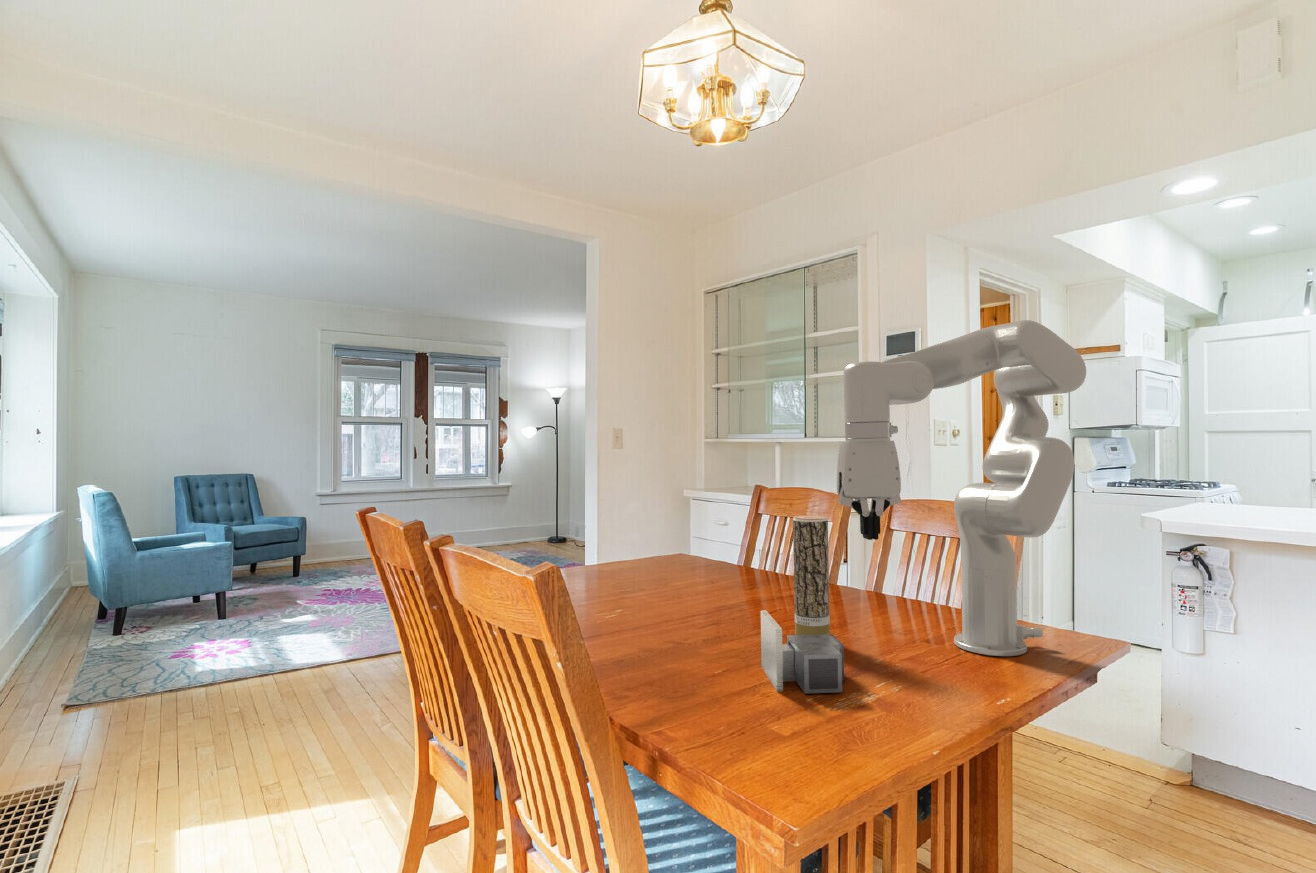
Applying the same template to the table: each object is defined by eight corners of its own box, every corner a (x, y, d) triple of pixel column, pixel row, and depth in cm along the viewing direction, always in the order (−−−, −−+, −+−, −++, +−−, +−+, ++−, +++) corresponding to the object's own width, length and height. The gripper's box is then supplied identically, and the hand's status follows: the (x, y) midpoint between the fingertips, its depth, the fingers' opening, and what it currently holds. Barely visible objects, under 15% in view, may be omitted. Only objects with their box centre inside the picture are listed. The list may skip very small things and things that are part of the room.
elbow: (832, 668, 115) (832, 634, 115) (855, 692, 104) (854, 654, 104) (787, 669, 114) (787, 635, 114) (805, 693, 103) (804, 655, 103)
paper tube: (831, 648, 127) (828, 519, 127) (795, 646, 128) (793, 519, 129) (829, 638, 133) (826, 515, 134) (795, 636, 135) (792, 515, 135)
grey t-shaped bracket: (823, 664, 118) (822, 608, 118) (845, 689, 106) (844, 627, 106) (761, 666, 117) (760, 610, 117) (776, 691, 105) (775, 629, 105)
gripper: (900, 432, 118) (903, 534, 118) (818, 434, 117) (821, 537, 117) (919, 431, 111) (922, 540, 111) (832, 434, 110) (835, 543, 110)
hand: (870, 538), depth 114 cm, fingers closed
